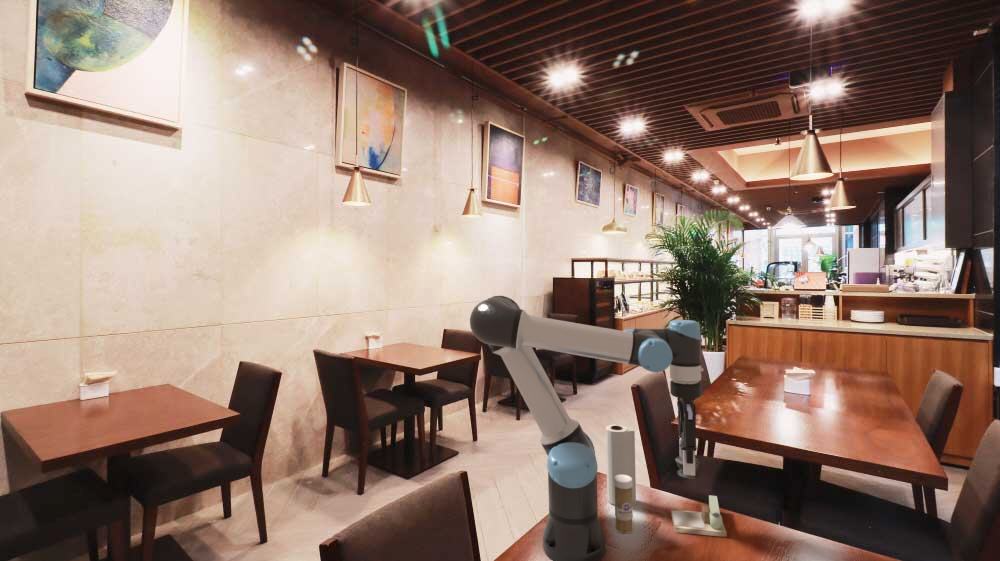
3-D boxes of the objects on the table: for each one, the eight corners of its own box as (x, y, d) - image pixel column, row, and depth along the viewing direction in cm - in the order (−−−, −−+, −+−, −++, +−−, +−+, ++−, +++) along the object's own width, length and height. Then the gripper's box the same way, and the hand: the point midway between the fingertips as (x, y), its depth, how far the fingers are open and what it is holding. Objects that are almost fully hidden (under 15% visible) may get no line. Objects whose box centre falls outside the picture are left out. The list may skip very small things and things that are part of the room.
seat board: (675, 532, 119) (674, 515, 118) (670, 513, 127) (670, 498, 127) (726, 537, 116) (726, 520, 116) (718, 517, 125) (718, 502, 124)
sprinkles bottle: (621, 536, 118) (620, 483, 117) (611, 526, 122) (610, 475, 122) (637, 532, 119) (636, 479, 119) (626, 522, 124) (625, 472, 123)
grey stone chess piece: (702, 479, 118) (701, 432, 118) (677, 478, 119) (676, 431, 119) (697, 469, 124) (696, 424, 124) (673, 468, 125) (672, 424, 125)
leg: (722, 529, 116) (722, 517, 116) (710, 527, 117) (710, 515, 117) (718, 505, 128) (718, 494, 128) (707, 503, 129) (707, 492, 129)
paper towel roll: (603, 498, 137) (601, 425, 136) (620, 494, 139) (618, 422, 138) (618, 510, 130) (616, 433, 129) (636, 505, 132) (634, 430, 132)
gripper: (708, 390, 111) (710, 487, 112) (694, 372, 129) (696, 455, 130) (675, 389, 113) (676, 484, 113) (666, 371, 131) (667, 453, 132)
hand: (687, 468), depth 122 cm, fingers closed on grey stone chess piece, 6 cm apart
